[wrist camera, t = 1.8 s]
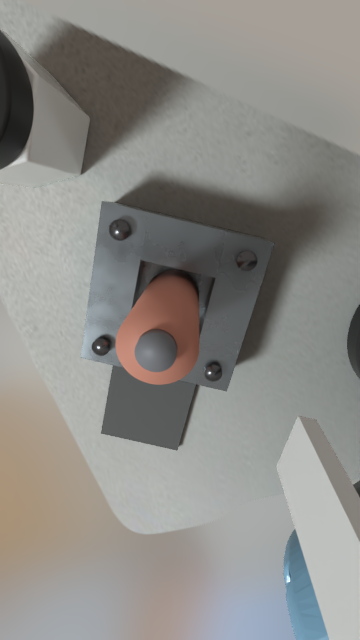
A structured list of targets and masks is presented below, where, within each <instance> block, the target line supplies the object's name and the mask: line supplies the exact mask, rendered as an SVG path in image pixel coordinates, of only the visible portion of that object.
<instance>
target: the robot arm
mask: <svg viewBox="0 0 360 640" xmlns="http://www.w3.org/2000/svg"><path fill="white" fill-rule="evenodd" d="M347 349H348V356H349V360H350V363H351V365H352V368H353V370H354V371H355V373H356V375H357V376H358V377H359V378H360V305H359V306H358V308H357V310H356V312H355V314H354V316H353V318H352V321H351V324H350V327H349V332H348V339H347ZM276 467H277V471H278V474H279V477H280V480H281V484H282V487H283V490H284V493H285V497H286V500H287V503H288V506H289V510H290V512H291V516H292V519H293V523H294V526H295V530H294V531H293V532H292V534H291V536H290V538H289V540H288V542H287V545H286V550H285V556H284V579H285V585H286V600H287V605H288V611H289V615H290V619H291V623H292V627H293V631H294V634H295V638H296V640H360V481H358V482H357V483H355V484H354V485H353V484H352V483H351V481H350V479H349V477H348V475H347V474H346V472H345V470H344V468H343V467H342V465H341V463H340V461H339V459H338V458H337V456H336V454H335V452H334V451H333V449H332V447H331V445H330V443H329V442H328V440H327V438H326V436H325V435H324V433H323V431H322V429H321V427H320V426H319V424H318V422H317V420H315V419H311V418H306V417H302V416H298V417H297V420H296V422H295V424H294V427H293V429H292V431H291V434H290V436H289V438H288V441H287V443H286V445H285V448H284V450H283V452H282V455H281V457H280V459H279V462H278V464H277V466H276Z"/></svg>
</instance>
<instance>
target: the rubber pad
mask: <svg viewBox="0 0 360 640" xmlns="http://www.w3.org/2000/svg"><path fill="white" fill-rule="evenodd" d="M195 386H196V384H193V383H188V382H184V381H180V380H178V381H176V382H173V383H170V384H163V385H156V384H149V383H146V382H143V381H140V380H138V379H136V378H135V377H133V376H132V375H131V374H129V373H128V372H127V371H126V370H125V368H123V367H119V366H114V365H113V369H112V374H111V380H110V386H109V391H108V397H107V403H106V408H105V414H104V420H103V425H102V431H101V433H102V434H106V435H111V436H115V437H120V438H124V439H129V440H133V441H138V442H142V443H146V444H151V445H155V446H160V447H164V448H169V449H173V450H178V446H179V443H180V439H181V436H182V432H183V429H184V425H185V422H186V418H187V414H188V411H189V407H190V404H191V400H192V397H193V393H194V390H195Z"/></svg>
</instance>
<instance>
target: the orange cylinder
mask: <svg viewBox="0 0 360 640" xmlns="http://www.w3.org/2000/svg"><path fill="white" fill-rule="evenodd" d="M115 344H116V353H117V356H118V359H119V361H120V363H121V364H122V366H123V367H124V368H125V370H126V371H127V372H128V373H129V374H131V375H132V376H133V377H135V378H136V379H138V380H140V381H143V382H146V383H149V384H156V385H163V384H170V383H173V382H176V381H178V380H180V379H182V378H183V377H185V376H186V375H187V374H188V373H189V372H190V371H191V370H192V369H193V367H194V366H195V364H196V362H197V359H198V355H199V291H198V287H197V285H196V283H195V281H194V280H193V279H192V278H191V277H190V276H189V275H187V274H186V273H184V272H182V271H179V270H166V271H163V272H161V273H159V274H157V275H156V276H155V277H154V278H153V279H152V280H151V281H150V283H149V284H148V286H147V287H146V289H145V290H144V292H143V293H142V295H141V296H140V298H139V299H138V301H137V302H136V304H135V305H134V307H133V308H132V310H131V311H130V313H129V314H128V316H127V317H126V319H125V320H124V322H123V323H122V325H121V326H120V328H119V330H118V333H117V336H116V343H115Z"/></svg>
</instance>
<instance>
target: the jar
mask: <svg viewBox="0 0 360 640" xmlns="http://www.w3.org/2000/svg"><path fill="white" fill-rule="evenodd" d="M89 124H90V118H89V116H88V115H87V114H86V113H85V112H84V111H83V109H82V108H81V107H80V106H79V105H78V104H77V103H76V102H75V101H74V99H73V98H72V97H71V96H70V95H69V94H68V93H67V92H66V91H65V89H64V88H63V87H62V86H61V85H60V84H59V83H58V82H57V80H56V79H55V78H54V77H53V76H52V75H51V74H50V73H49V72H48V71H47V70H46V69H45V68H44V67H43V66H42V65H40V64H39V63H38V62H37V61H36V60H35V59H34V58H33V57H32V56H31V55H30V54H28V53H27V52H26V51H25V50H24V49H23V48H22V47H21V46H20V45H19V44H17V43H16V42H15V41H14V40H13V39H12V38H11V37H10V36H9V35H8V34H7V33H5V32H4V31H3V30H2V29H1V28H0V184H4V185H12V186H20V187H28V188H37V187H41V186H44V185H48V184H52V183H55V182H59V181H63V180H66V179H70V178H73V177H77V176H80V174H81V170H82V164H83V158H84V152H85V147H86V141H87V135H88V129H89Z"/></svg>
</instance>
